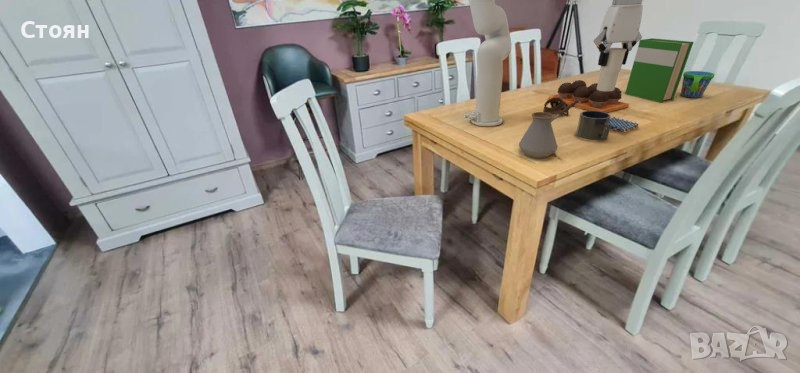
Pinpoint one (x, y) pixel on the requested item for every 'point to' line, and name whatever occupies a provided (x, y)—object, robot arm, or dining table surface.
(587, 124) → the mug
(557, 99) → the broken brown clay pot
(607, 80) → the paper cup
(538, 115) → the coffee pot
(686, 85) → the snack cup
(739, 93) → the dining table surface
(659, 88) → the hardback book
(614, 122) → the woven mat
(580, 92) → the chocolate cupcake tray
